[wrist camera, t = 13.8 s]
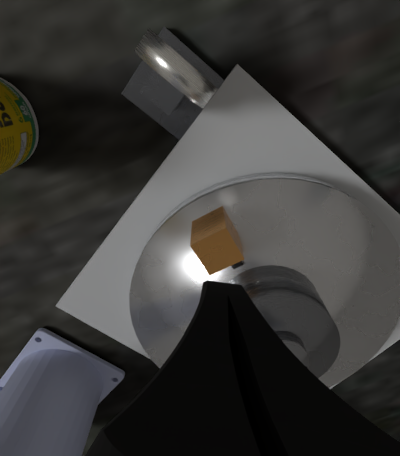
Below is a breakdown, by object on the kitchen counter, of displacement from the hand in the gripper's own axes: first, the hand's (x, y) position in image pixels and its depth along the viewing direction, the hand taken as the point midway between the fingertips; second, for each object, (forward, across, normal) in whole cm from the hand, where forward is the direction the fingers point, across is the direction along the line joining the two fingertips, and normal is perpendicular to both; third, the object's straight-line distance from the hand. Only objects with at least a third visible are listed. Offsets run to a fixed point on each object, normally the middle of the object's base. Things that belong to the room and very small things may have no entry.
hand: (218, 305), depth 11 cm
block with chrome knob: (+10, +3, -6) cm, 13 cm away
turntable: (+9, -5, +6) cm, 12 cm away
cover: (+8, -5, +6) cm, 11 cm away
